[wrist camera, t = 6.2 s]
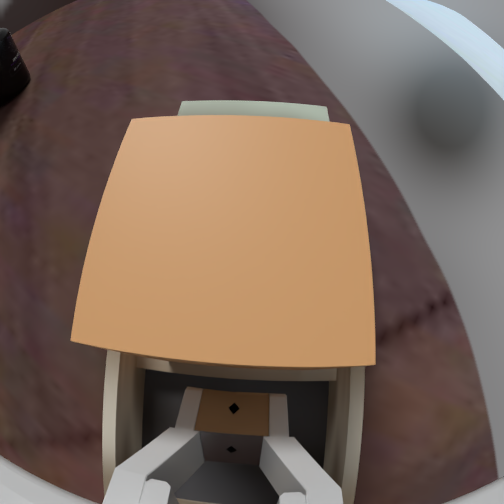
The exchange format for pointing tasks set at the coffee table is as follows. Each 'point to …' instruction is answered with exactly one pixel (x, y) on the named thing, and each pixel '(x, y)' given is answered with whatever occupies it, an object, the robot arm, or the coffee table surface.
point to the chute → (235, 380)
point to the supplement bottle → (11, 68)
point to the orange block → (232, 246)
